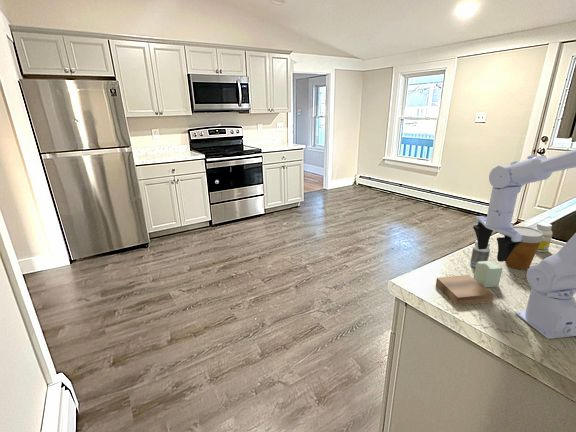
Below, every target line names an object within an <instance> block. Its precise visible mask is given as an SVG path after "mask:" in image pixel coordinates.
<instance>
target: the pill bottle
mask: <svg viewBox="0 0 576 432" xmlns="http://www.w3.org/2000/svg"><path fill="white" fill-rule="evenodd" d="M490 245H491V242H490V241H489V242H488V246H487V248H486V249H478V242H477V239H476V240H475V242H474V245H473V247H472V251H471V257H470V261H469V262H470V263H469V264H470V265H471V266H472V267H474V268H476V263H477V262H481V261H489V258H490V257H489V256H490V252H491V248H490Z"/></svg>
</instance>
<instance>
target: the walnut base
mask: <svg viewBox="0 0 576 432" xmlns="http://www.w3.org/2000/svg"><path fill="white" fill-rule="evenodd" d="M435 286H436V287H437V288H438V289H439V290H440V291H441V292H442V293H443V294H444V295H445V296H446V297H447V298H448V299H449V300H450V301H451V302H452V303H453V304H454V305H455V306H464V305H465V306H466V305H476V304H478V305H479V304H486V303H488V304H489V303H493V299H494V296H495V294H494V293H493V292H492V291H491V290H489V289H488V287H484V286H483V285H481V284H480V283H479V282H478V281H476V280H475V279H474V277H473V276H471V275H470V274H463V275H455V276H454V275H453V276H452V275H451V276H442V277H436V281H435Z"/></svg>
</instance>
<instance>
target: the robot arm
mask: <svg viewBox="0 0 576 432" xmlns="http://www.w3.org/2000/svg"><path fill="white" fill-rule="evenodd" d="M526 158H527V159H524V160H521V161H518V160H517V161H511V162H510V164H509V165H497V166H495V167H493V168H492V169H491V171H490V173H489V175H488V182H489V184H490V185H491V186H492V189H491V194H490V199H489V204H488V208H487V209H488V210H487V215H486V216H485V215H484V216H483V215H479V216H478V215H477V216H476V217H475V223H476V224H475V225H473V227H472V228H473V231H474V232H475V237H476V240H477V242H478V249H486V248H487V246H488V242H490V238H491V236H492V233H493V232H497V233H498V234H500V235H502V237H496V242H497V256H496V260H497V262H506V260H507V258H508V256H509V255H510V253H511V252H512V251H513V250H514V248H515V247H516V246H518V245H519V244H520V243H521V241H522V240H521V239H522V234H520V233H519V232H517V231H516V230H515V229H514V228H513V226H514V224H512V221H513V217H514V212H515V207H516V204H517V198H518V195H519V193H521V190H522V187H523V186H525V185H527V184H531V183H536V182H541V181H545V180H548V178H550V177H551V176H552V175H553V173H555V172H561V171H565V170H569V169H573V168H576V148H575V149H572V150H569V151H565V152H563V153H560V154H557V155H554V156H550V157H548V158H547V157H546V156H544V155H537V154H532V155H527V157H526ZM526 280H527V283H528V284H529V287H530V288H531V289H530V293H529V297H528V301H527V304H526V307H525V309H524V310H515V315H517V316H518V317H519V318H521V319H522V320H523V321H525V322H526V323H527V324H528V325H530V326H531V327H532V328H534V329H535V330H536V331H537V332H539V334H541V335H542V336H543V337H545V338H546V339H549V340H552V339H561V338H568V337H576V299H575V297H574V295H575V294H576V232H575V233H574V234H572V237H570V239H569V240H567V241H566V242H565V244H564V245H563V246H562V247H561V248H560V249H559V250H558V252H556V253H553V254H552V255H550V256H548V257H545V258H544V259H542V260H541V261H540V262H539V263H538V264H534V265H530V267H529V268H528V269H527V271H526Z"/></svg>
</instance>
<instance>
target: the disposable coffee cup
mask: <svg viewBox="0 0 576 432" xmlns="http://www.w3.org/2000/svg"><path fill="white" fill-rule="evenodd" d="M513 228H514V229H515V230H516V231H517V232H519V233H520V234H522V239H521V240H522V241H521V243H520V244H519V245H518V246H516V247H515V248H514V250H513V251H512V252H511V253H510V255H509V256H508V258H507V260H506V261H505V265H507V266H508V267H511V268H514V269H516V270H528V269H529V268H530V267H531V265H532V262H533V260H534V258H535V255H536V253H537V249H538V247H539V244H540V242H541V241H542V240H543V239H544V237H543V233H542V232H541V231H539V230H537V229H535V228H533V227H528V226H523V225H522V226H521V225H513Z"/></svg>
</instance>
